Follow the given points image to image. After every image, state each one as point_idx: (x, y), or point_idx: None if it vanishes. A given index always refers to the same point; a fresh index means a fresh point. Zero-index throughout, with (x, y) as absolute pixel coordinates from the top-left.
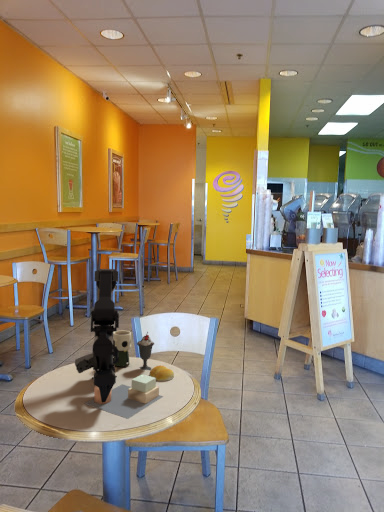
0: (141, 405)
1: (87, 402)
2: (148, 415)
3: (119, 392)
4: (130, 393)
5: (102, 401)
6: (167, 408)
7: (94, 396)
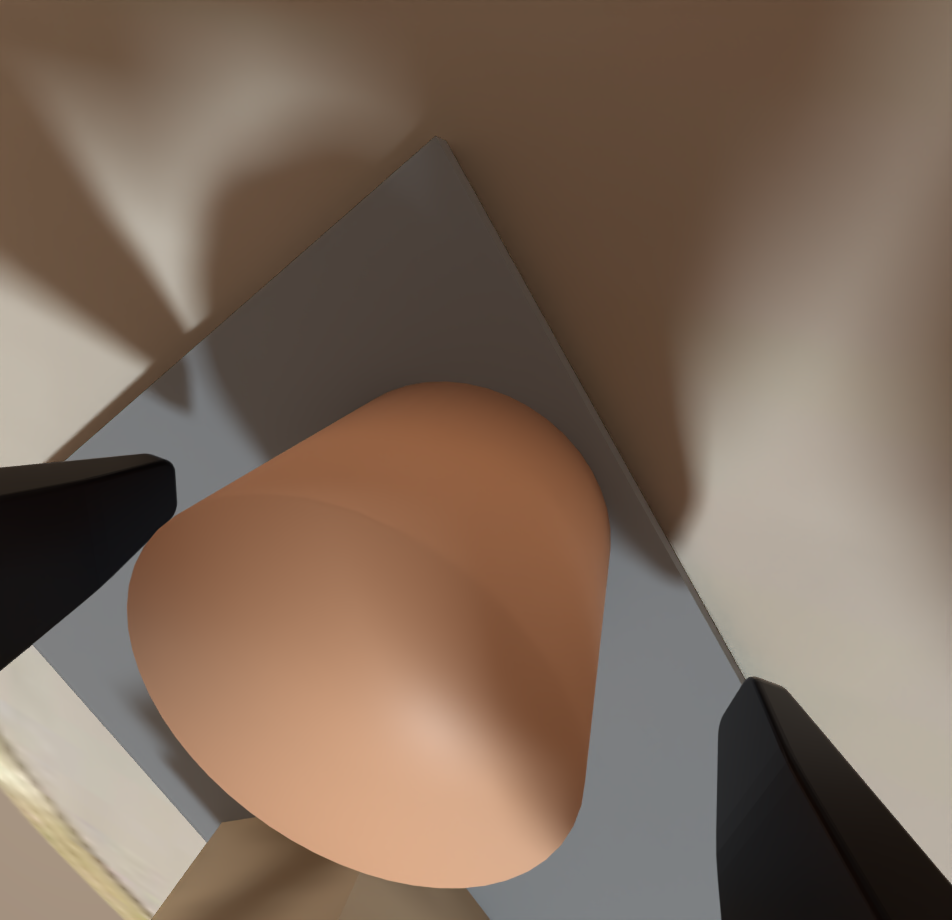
0: (192, 780)
1: (465, 231)
2: (56, 716)
3: (622, 828)
4: (328, 877)
5: (136, 464)
6: (154, 864)
7: (424, 413)
